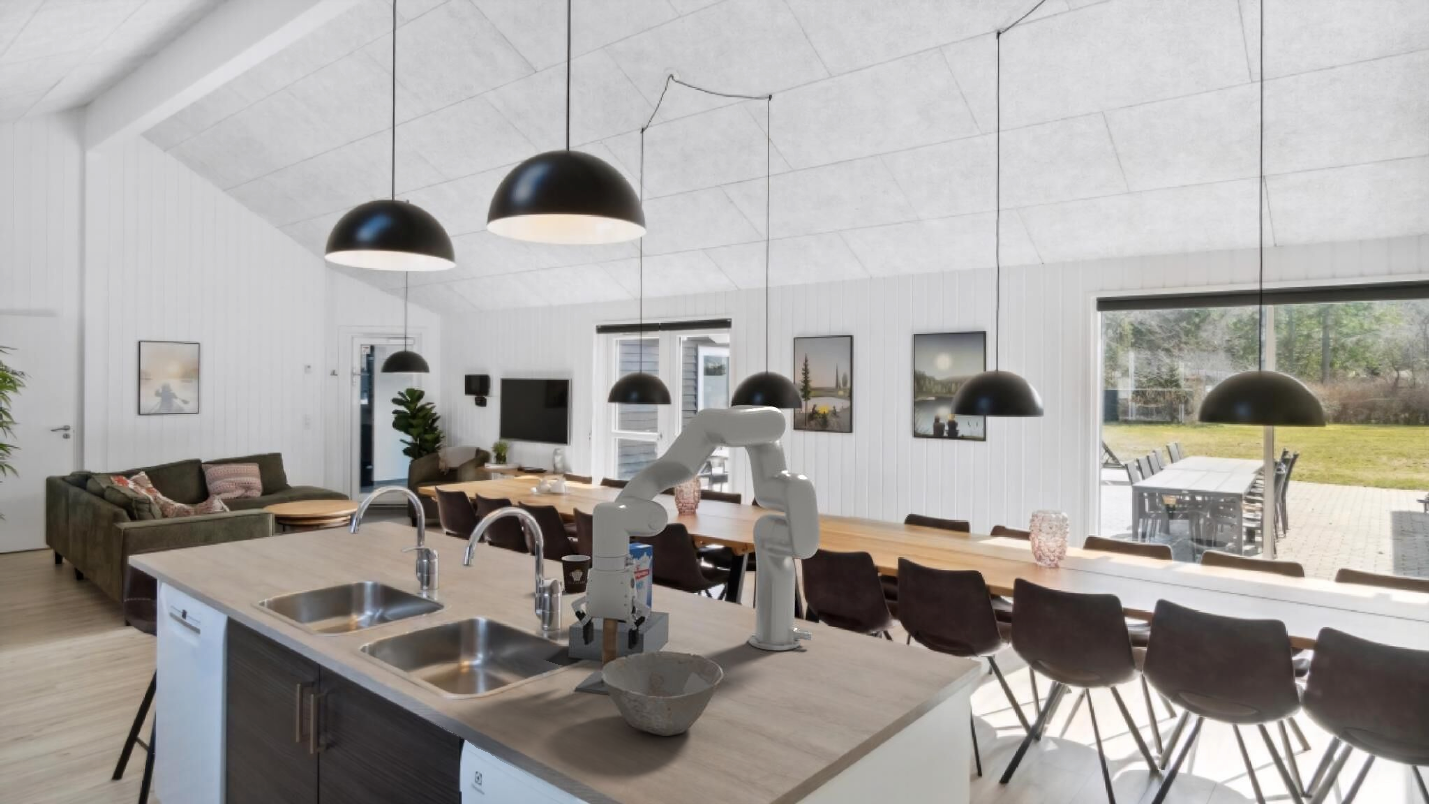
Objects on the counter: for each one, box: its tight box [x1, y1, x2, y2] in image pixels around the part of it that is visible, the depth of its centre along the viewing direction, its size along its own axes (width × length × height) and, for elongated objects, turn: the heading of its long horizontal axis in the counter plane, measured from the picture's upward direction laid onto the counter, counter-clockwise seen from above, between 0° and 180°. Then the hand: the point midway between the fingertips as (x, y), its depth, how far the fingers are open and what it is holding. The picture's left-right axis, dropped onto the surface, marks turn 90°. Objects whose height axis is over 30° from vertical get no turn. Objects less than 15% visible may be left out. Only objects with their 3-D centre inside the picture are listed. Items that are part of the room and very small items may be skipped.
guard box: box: [568, 610, 670, 662], centre depth 184 cm, size 18×18×7 cm
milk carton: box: [629, 542, 654, 610], centre depth 207 cm, size 10×6×20 cm, turn 136°
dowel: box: [601, 618, 618, 684], centre depth 161 cm, size 3×3×14 cm
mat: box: [575, 670, 609, 695], centre depth 161 cm, size 10×10×1 cm
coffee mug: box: [561, 554, 593, 594], centre depth 238 cm, size 12×9×10 cm
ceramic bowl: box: [600, 650, 724, 737], centre depth 141 cm, size 22×23×10 cm
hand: (610, 645), depth 161 cm, fingers open, 9 cm apart
